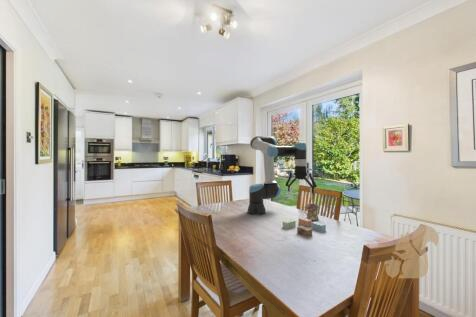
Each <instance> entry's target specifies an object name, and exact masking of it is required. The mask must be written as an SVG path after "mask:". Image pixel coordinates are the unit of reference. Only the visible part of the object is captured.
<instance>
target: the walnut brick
mask: <svg viewBox="0 0 476 317" xmlns="http://www.w3.org/2000/svg"><path fill="white" fill-rule="evenodd" d="M296 229H297V230H296V232H297V234H299V235H301V236H303V237H307V238H310V237H312V236H313V229H312V228H311V227H310V228H309V227H306V226H304V225H299V226H297V228H296Z"/></svg>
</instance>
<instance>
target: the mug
mask: <svg viewBox="0 0 476 317" xmlns="http://www.w3.org/2000/svg"><path fill="white" fill-rule="evenodd" d="M319 207H320V205H319V204H317V203H307V204H306V205H305V206H303V207H302V211H303V212H305V210H304V209H305V208H306V210H307V212H305V214H306V219H309V220H312V221H319V216H318V210H319V209H320V208H319Z"/></svg>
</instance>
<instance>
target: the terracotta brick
mask: <svg viewBox="0 0 476 317" xmlns="http://www.w3.org/2000/svg"><path fill="white" fill-rule="evenodd" d="M311 222H313V220H309V219H307V217H299V218H298V224H299V225H300V226H304V227H307V228H309V227H311Z"/></svg>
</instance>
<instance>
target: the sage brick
mask: <svg viewBox="0 0 476 317" xmlns="http://www.w3.org/2000/svg"><path fill="white" fill-rule="evenodd" d="M296 225H297V224H296V220H295V219H287V220H283V221H282V228H284V229H286V230H288V229H292V228H296Z"/></svg>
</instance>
